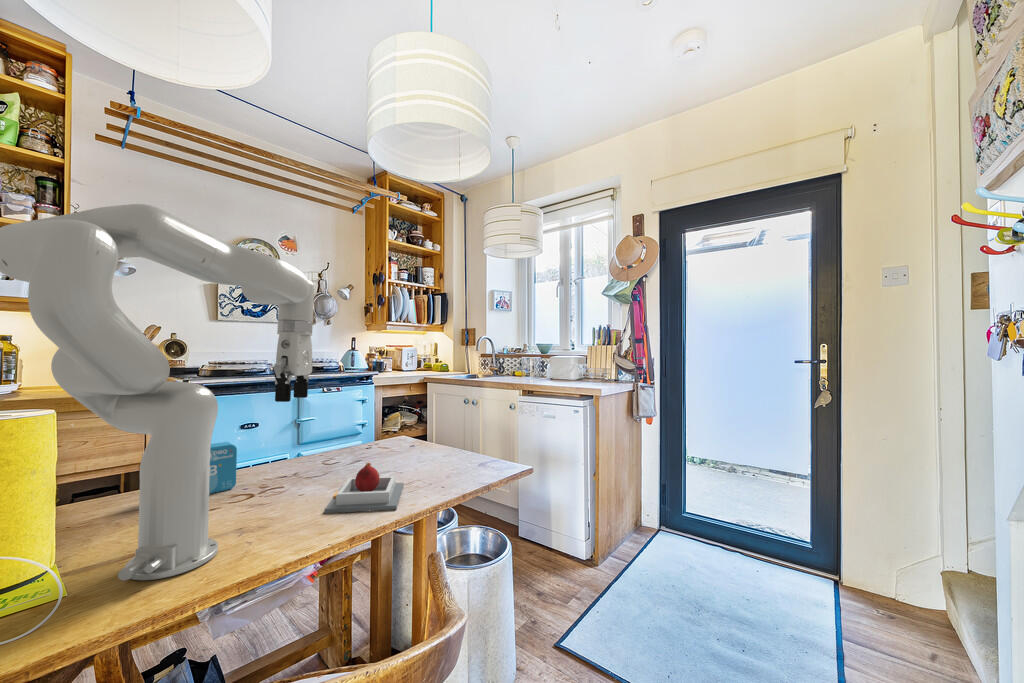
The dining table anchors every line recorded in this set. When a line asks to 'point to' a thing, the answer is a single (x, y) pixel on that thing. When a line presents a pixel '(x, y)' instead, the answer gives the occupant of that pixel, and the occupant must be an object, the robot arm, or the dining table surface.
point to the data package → (222, 467)
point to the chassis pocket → (366, 497)
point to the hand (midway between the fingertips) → (292, 399)
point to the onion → (367, 478)
